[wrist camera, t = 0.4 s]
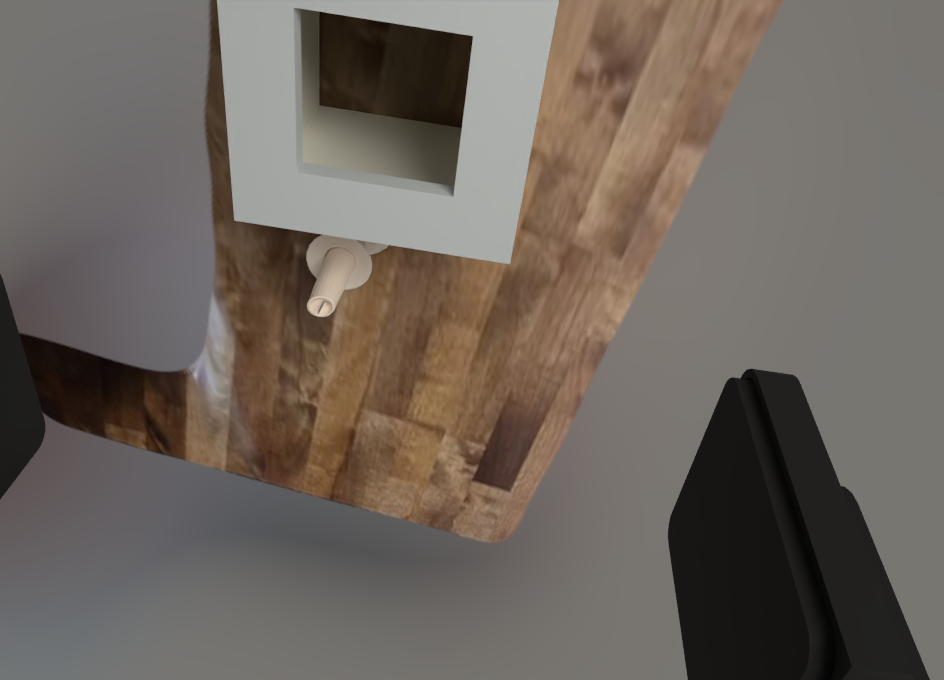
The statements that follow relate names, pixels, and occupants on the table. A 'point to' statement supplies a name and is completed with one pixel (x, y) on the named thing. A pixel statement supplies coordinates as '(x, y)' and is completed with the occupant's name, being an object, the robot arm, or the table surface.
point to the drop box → (383, 128)
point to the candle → (337, 269)
